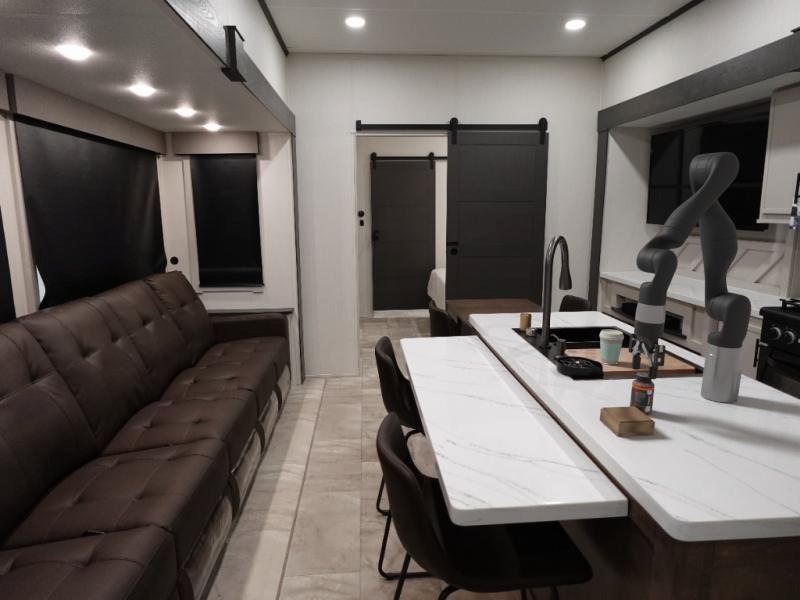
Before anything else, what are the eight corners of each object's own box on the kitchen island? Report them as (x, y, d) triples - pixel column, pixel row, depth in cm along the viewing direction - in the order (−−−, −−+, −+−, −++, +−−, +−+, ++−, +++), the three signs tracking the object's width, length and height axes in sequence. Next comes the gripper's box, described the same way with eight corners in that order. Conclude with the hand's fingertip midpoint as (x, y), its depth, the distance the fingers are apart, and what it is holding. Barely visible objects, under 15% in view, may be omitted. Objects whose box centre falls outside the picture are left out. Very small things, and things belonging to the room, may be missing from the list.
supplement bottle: (654, 416, 152) (658, 378, 150) (631, 414, 153) (635, 377, 151) (648, 408, 158) (652, 371, 156) (627, 406, 159) (631, 370, 157)
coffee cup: (623, 361, 201) (626, 331, 199) (619, 367, 194) (622, 336, 192) (599, 358, 206) (602, 327, 203) (594, 363, 198) (597, 332, 196)
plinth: (633, 419, 150) (634, 405, 149) (653, 434, 140) (655, 420, 140) (599, 420, 149) (600, 407, 148) (617, 436, 139) (619, 422, 138)
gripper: (677, 325, 144) (670, 382, 147) (648, 313, 157) (642, 365, 161) (651, 325, 143) (644, 382, 146) (624, 313, 157) (618, 366, 160)
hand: (643, 373), depth 153 cm, fingers open, 8 cm apart
